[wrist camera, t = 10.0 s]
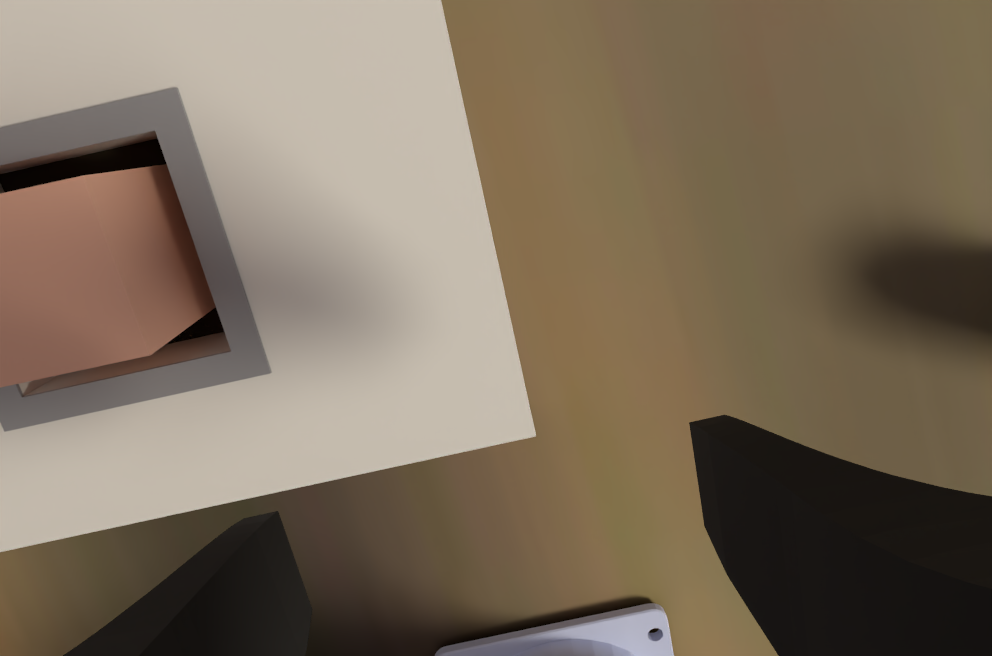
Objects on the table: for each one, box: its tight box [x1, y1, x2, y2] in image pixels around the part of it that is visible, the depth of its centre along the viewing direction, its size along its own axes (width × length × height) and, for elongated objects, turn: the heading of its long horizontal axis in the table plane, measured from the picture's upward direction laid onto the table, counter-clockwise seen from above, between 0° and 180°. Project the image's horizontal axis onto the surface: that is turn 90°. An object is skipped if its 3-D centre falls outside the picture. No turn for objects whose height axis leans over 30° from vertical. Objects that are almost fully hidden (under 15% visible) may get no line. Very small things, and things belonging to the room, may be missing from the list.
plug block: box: [0, 164, 216, 387], centre depth 17 cm, size 4×4×5 cm
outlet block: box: [0, 0, 536, 552], centre depth 18 cm, size 14×20×3 cm
